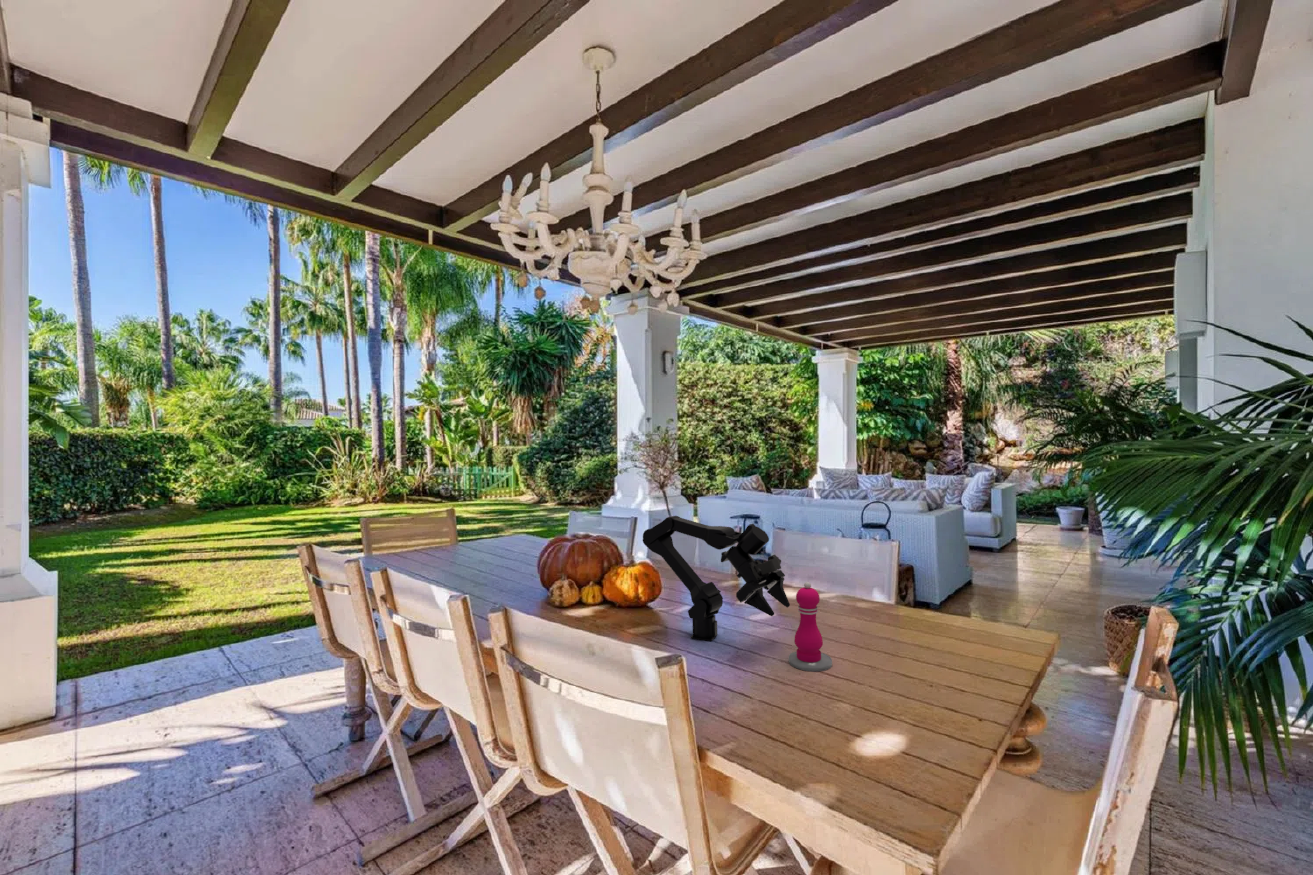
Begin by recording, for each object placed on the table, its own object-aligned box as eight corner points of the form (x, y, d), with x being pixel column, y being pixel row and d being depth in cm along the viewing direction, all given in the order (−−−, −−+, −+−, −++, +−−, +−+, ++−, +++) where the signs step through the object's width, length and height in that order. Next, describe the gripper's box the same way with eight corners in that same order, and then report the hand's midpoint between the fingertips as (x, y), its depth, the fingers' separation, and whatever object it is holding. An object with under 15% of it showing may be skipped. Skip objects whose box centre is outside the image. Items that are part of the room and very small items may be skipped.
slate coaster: (785, 667, 149) (785, 663, 149) (792, 652, 160) (792, 648, 160) (829, 674, 145) (829, 669, 145) (834, 657, 155) (834, 653, 155)
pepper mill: (820, 652, 156) (819, 578, 155) (825, 663, 149) (824, 585, 148) (793, 652, 156) (791, 578, 156) (796, 663, 149) (795, 585, 149)
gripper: (745, 552, 153) (784, 601, 146) (778, 541, 168) (815, 585, 161) (720, 578, 158) (757, 626, 151) (754, 564, 173) (789, 608, 166)
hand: (781, 610), depth 157 cm, fingers open, 9 cm apart
